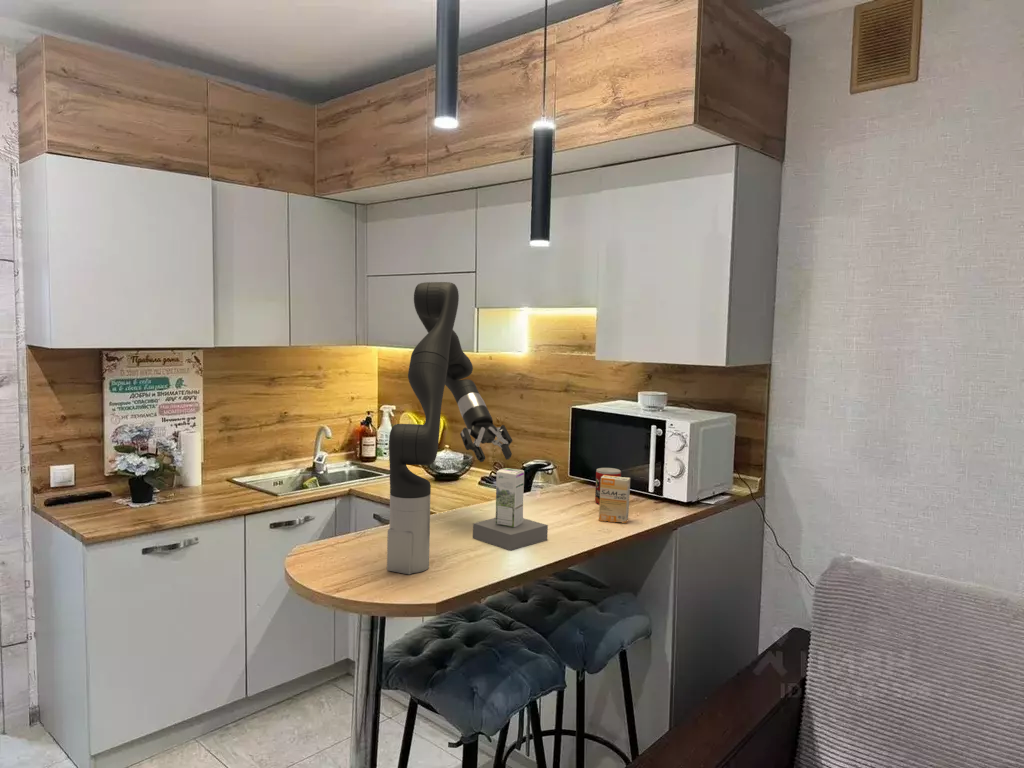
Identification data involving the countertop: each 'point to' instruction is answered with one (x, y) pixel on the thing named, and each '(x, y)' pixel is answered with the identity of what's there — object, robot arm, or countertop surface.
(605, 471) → the canned food
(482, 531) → the plate
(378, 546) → the countertop surface
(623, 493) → the supplement box
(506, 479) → the syrup box
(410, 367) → the robot arm
